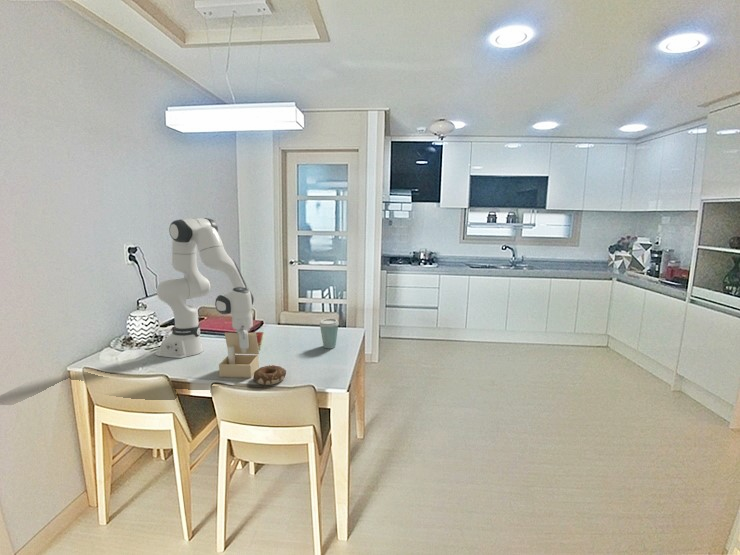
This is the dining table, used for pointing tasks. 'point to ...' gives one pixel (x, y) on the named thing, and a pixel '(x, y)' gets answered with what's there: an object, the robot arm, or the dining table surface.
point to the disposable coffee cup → (329, 332)
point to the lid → (233, 340)
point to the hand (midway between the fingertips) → (243, 352)
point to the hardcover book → (259, 338)
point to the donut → (269, 375)
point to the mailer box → (238, 365)
